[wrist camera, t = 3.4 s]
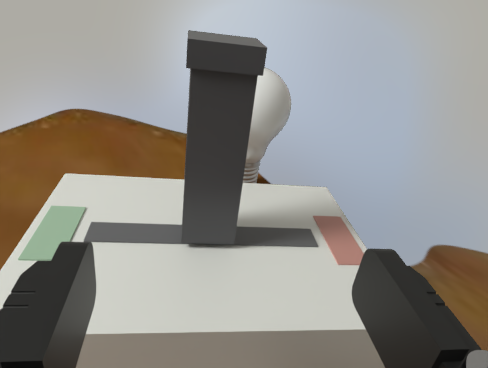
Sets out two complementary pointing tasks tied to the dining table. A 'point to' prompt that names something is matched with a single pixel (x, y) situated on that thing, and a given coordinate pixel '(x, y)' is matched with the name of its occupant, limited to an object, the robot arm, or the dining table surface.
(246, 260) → the breaker panel
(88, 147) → the dining table surface
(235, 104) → the handle
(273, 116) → the lightbulb
